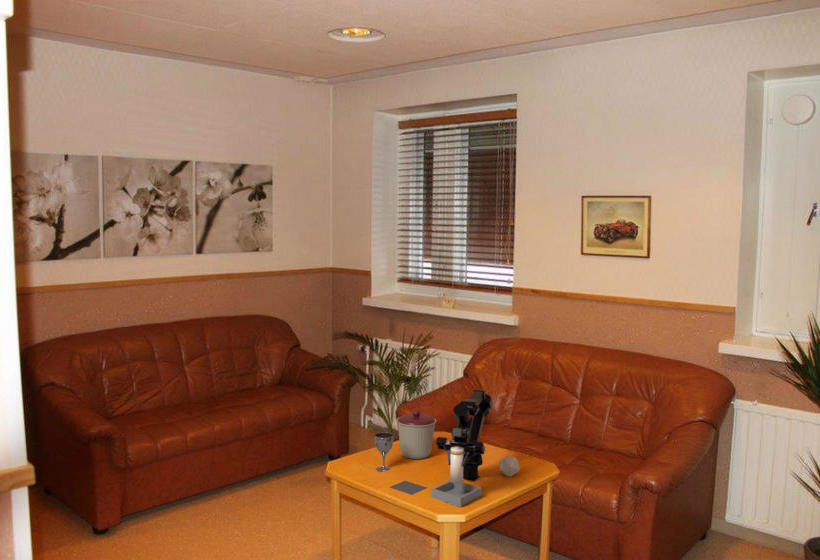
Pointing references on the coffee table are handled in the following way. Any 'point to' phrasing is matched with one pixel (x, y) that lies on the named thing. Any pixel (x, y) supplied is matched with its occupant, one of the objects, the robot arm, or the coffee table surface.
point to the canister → (416, 434)
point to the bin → (456, 493)
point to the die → (509, 465)
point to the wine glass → (383, 447)
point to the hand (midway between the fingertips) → (456, 465)
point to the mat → (408, 487)
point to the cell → (456, 465)
